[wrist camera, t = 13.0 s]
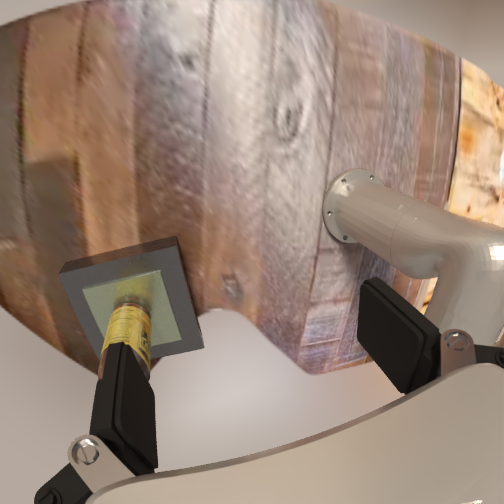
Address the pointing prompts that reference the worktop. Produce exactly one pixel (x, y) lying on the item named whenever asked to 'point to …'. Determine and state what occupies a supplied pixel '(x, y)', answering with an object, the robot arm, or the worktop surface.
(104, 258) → the stand
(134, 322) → the sauce bottle
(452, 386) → the robot arm
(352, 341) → the worktop surface
